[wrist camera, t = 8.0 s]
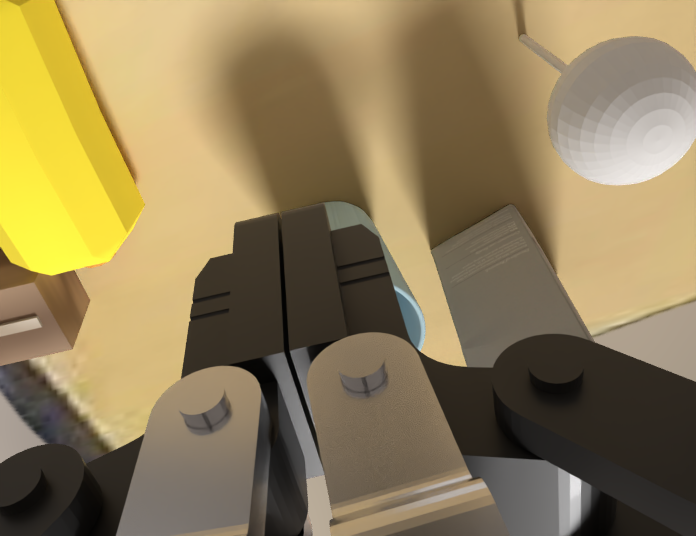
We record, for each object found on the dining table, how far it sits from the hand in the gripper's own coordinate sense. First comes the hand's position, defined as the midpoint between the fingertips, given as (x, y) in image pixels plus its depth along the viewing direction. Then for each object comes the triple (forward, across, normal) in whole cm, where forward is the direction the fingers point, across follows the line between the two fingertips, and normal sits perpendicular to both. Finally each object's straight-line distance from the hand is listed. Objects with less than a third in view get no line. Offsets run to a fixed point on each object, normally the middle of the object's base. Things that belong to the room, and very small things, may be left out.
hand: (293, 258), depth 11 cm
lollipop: (+27, -13, +6) cm, 31 cm away
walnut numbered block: (+27, +19, +14) cm, 36 cm away
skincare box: (+27, -10, +21) cm, 36 cm away
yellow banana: (+27, +14, +4) cm, 31 cm away
